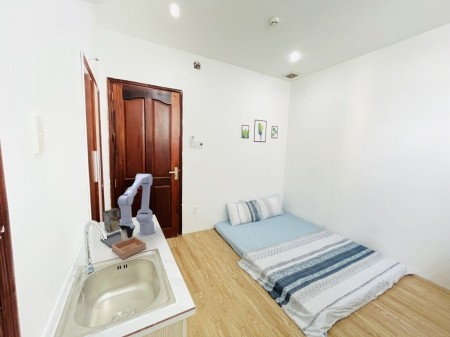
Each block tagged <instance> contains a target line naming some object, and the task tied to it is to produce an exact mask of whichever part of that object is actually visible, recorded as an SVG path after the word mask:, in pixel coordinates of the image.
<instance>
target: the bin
mask: <svg viewBox="0 0 450 337" xmlns="http://www.w3.org/2000/svg"><path fill="white" fill-rule="evenodd" d="M133 237H134V238H132V239H130V240H127V241H124V240H123V241H121V242H118V243H116V244H113V245H112V248H111V251H112V252H114V253H115V255H117V256H118V257H119V258H120V259H122V260H126V259H128V258H130V257H131V256H134V255H137V254H138V253H140V252H143V251H145V250H147V244H146V242H145V241H143V240H142V239H139V238H138V237H136V236H133Z"/></svg>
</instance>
